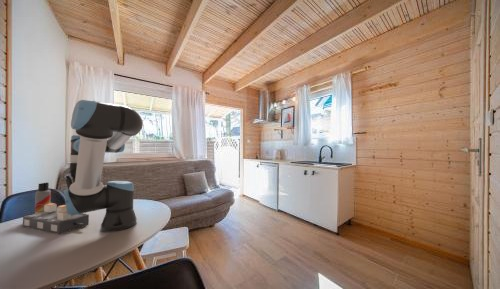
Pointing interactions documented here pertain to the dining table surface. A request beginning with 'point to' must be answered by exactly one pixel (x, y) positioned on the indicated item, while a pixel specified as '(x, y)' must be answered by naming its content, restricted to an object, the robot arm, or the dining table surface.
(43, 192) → the lotion bottle
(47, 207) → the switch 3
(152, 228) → the dining table surface
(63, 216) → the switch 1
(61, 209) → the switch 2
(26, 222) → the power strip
